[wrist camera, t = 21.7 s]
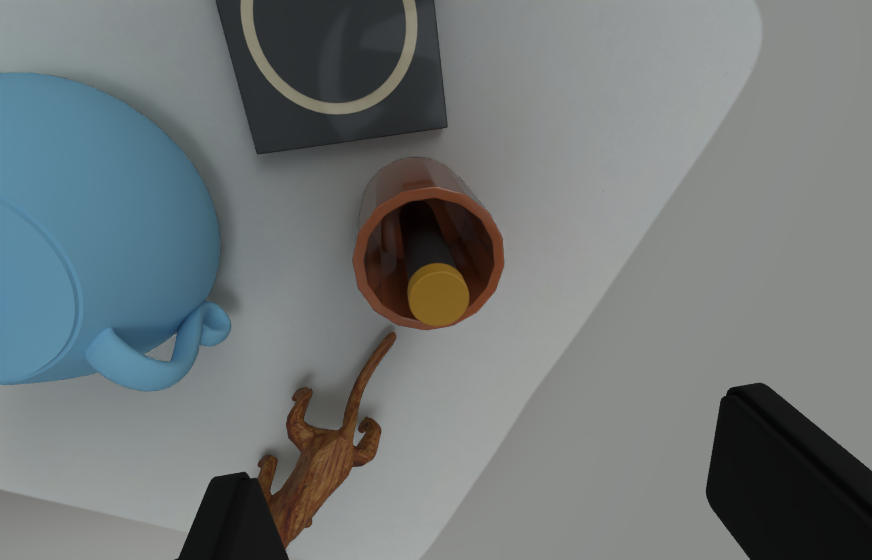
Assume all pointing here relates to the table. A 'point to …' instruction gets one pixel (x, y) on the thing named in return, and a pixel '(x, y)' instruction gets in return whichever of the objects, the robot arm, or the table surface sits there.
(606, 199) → the table surface
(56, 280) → the teapot
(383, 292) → the pen cup
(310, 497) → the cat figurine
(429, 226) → the marker
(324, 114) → the slate
